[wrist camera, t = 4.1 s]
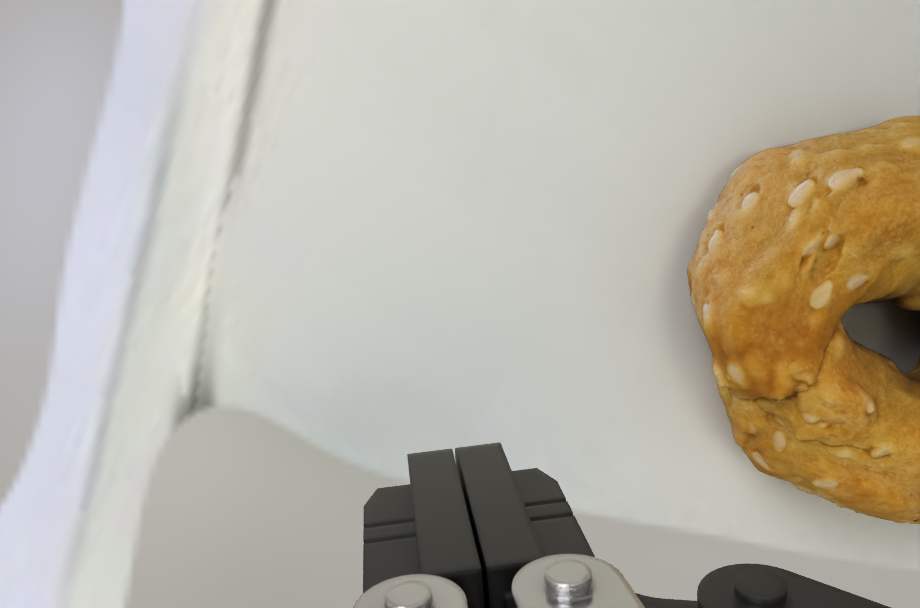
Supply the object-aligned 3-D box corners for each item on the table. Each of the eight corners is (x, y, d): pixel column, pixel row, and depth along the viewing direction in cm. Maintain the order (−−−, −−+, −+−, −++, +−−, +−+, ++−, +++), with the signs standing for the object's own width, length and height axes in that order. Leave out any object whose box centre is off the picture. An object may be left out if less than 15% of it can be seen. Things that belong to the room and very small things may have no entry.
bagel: (841, 19, 20) (979, -6, 16) (1110, 282, 23) (1299, 328, 18) (584, 332, 21) (642, 396, 17) (867, 548, 24) (985, 656, 19)
